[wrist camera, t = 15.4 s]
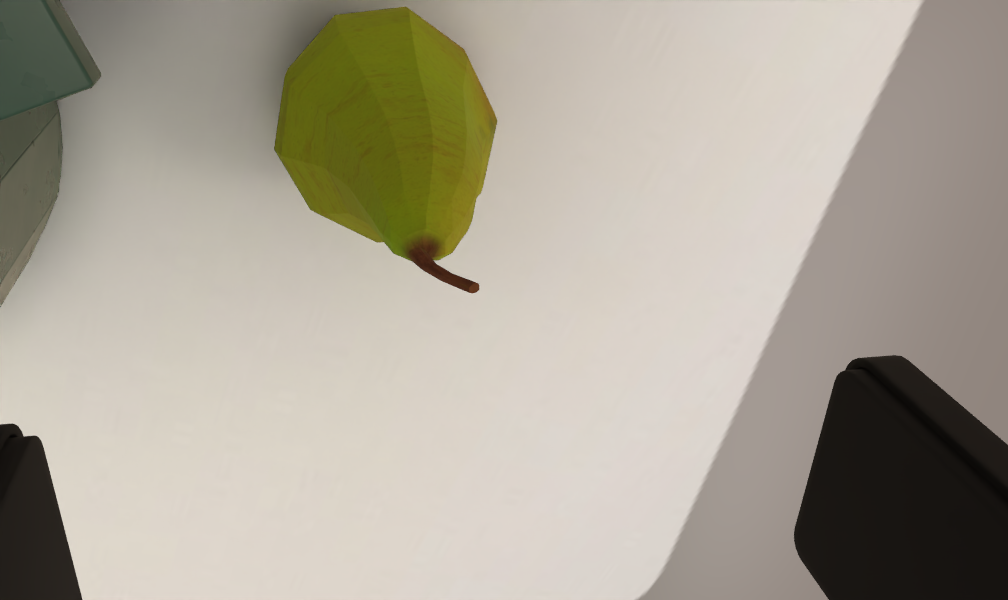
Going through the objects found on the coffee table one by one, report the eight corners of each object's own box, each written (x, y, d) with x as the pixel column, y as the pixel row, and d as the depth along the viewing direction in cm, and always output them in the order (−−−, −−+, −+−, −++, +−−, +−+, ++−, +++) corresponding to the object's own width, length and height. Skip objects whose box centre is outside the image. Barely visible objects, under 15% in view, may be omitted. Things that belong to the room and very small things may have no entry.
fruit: (251, 8, 24) (218, 143, 14) (464, -24, 25) (582, 83, 15) (301, 212, 27) (304, 444, 17) (488, 179, 28) (599, 381, 18)
